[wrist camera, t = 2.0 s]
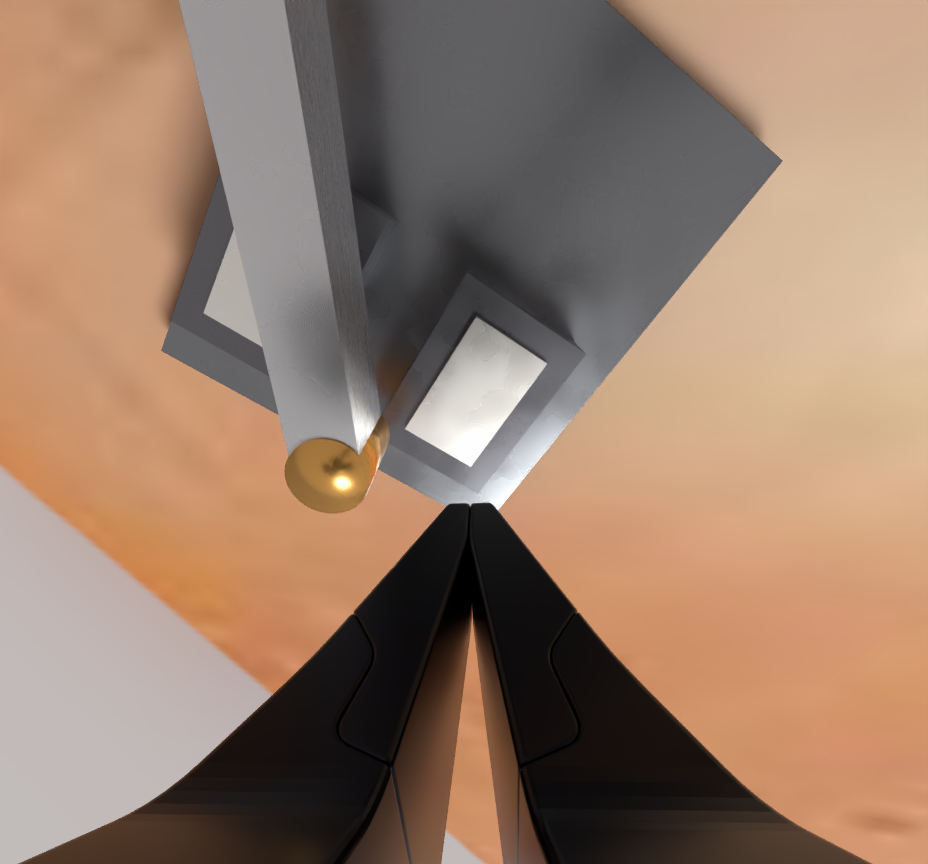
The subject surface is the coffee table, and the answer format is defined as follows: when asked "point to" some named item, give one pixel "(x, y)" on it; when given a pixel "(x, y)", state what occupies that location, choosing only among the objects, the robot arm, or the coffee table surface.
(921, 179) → the coffee table surface
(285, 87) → the cable arm
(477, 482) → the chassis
